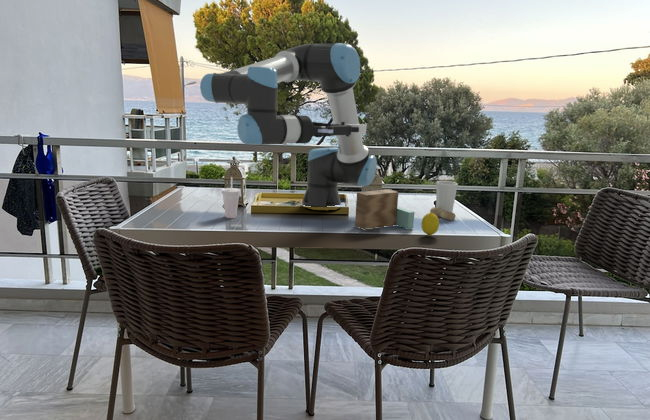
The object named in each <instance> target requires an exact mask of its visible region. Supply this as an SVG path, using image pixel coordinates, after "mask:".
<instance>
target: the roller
mask: <svg viewBox="0 0 650 420" xmlns="http://www.w3.org/2000/svg"><path fill="white" fill-rule="evenodd" d="M430 212H432V213H433V214H435V215H436V216H437V217H438V218H441V219H442V218H443V219H444V220H446V221H447V220H448V221H454V220H455V219H456V214H455V213H454V212H449V211H445V210H442V209H439V208H436V206H432V207H431V208H430V211H429V213H430Z"/></svg>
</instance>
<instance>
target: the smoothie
mask: <svg viewBox="0 0 650 420" xmlns="http://www.w3.org/2000/svg"><path fill="white" fill-rule="evenodd" d="M221 194H222V200H223V201H222V202H223V209H224V215H225V218H226V219H234V218H236V217H237V213H238V206H239V198H240V194H241V189H239V188H237V187H236V188H235V187H233V177H232V176H231V177H230V187H225V188H222V189H221Z"/></svg>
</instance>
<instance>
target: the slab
mask: <svg viewBox="0 0 650 420" xmlns="http://www.w3.org/2000/svg"><path fill="white" fill-rule="evenodd" d="M355 201H356V202H355V219H354V227H355V226H356V227H355V228H357V227H360V228H363V229H366V228H375V227H384V226H391V227H394V226H393V225H396V217H397V206H399V205H398V204H399V203H398V202H399V191H397V190H392V189H380V190H369V191H368V190H367V191H359V192H358V191H357V192H356V200H355ZM384 228H385V227H384Z"/></svg>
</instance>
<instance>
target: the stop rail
mask: <svg viewBox="0 0 650 420" xmlns="http://www.w3.org/2000/svg"><path fill="white" fill-rule="evenodd" d="M414 223H415V211H413V210H411V209H407V208H403V207H401V206H399V205H397V217H396V225H398V226H397V227H399V226H401V227H404V228H407V229H410V230H413V229H414ZM401 227H400V228H401ZM404 228H403V229H404ZM412 228H413V229H412ZM407 229H406V230H407Z"/></svg>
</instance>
